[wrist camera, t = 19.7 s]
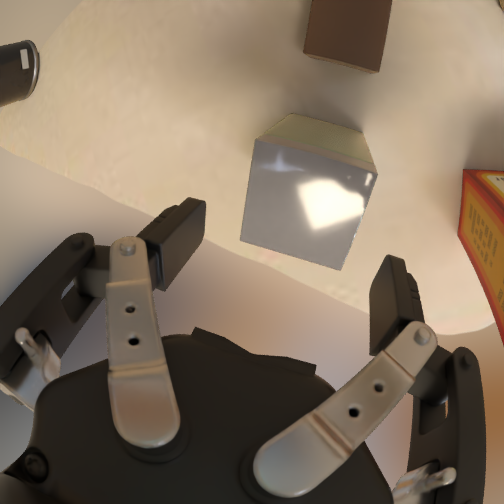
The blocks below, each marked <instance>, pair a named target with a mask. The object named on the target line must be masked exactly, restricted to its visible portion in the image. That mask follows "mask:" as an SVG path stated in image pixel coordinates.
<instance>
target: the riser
mask: <svg viewBox="0 0 504 504" xmlns="http://www.w3.org/2000/svg"><path fill="white" fill-rule="evenodd" d="M391 5H392V0H312V6H311V11H310V17H309V23H308V28H307V34H306V39H305V45H304V50H303V53H305V54H306V55H308V56H309V57H311V58H316V59H320V60H324V61H329V62H333V63H337V64H341V65H345V66H348V67H352V68H355V69H359V70H362V71H365V72H369V73H377V72H379V70H380V65H381V60H382V55H383V50H384V45H385V40H386V35H387V29H388V23H389V17H390V11H391Z"/></svg>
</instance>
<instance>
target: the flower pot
mask: <svg viewBox="0 0 504 504" xmlns="http://www.w3.org/2000/svg"><path fill="white" fill-rule="evenodd" d="M499 1H500V5H501V7H502V9H503V10H504V0H499Z"/></svg>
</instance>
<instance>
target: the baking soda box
mask: <svg viewBox="0 0 504 504" xmlns="http://www.w3.org/2000/svg"><path fill="white" fill-rule="evenodd" d="M458 237H459V239H460V241H461V243H462V245H463V247H464V249H465V251H466V253H467V255H468V257H469V259H470V261H471V263H472V265H473V267H474V269H475V271H476V274H477V276H478V278H479V280H480V283H481V285H482V287H483V290H484V292H485V295H486V297H487V300H488V302H489V305H490V307H491V310H492V313H493V315H494V318H495V321H496V324H497V327H498V330H499V332H500V336H501V339H502V342H503V345H504V171H493V170H469V169H463V183H462V198H461V210H460V219H459V227H458Z"/></svg>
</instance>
